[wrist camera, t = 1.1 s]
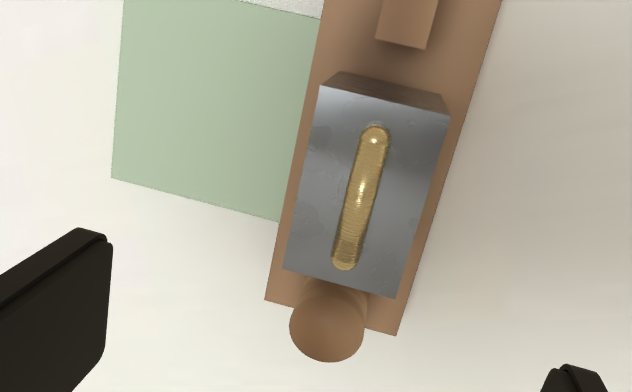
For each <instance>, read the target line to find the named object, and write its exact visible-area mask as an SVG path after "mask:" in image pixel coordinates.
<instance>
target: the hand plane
mask: <svg viewBox="0 0 632 392" xmlns="http://www.w3.org/2000/svg"><path fill="white" fill-rule="evenodd" d="M501 2H502V0H325V1H324V6H323V11H322V15H321V20H320V25H319V30H318V35H317V40H316V45H315V50H314V55H313V60H312V65H311V70H310V75H309V80H308V85H307V90H306V95H305V100H304V105H303V110H302V115H301V120H300V125H299V129H298V134H297V139H296V144H295V149H294V154H293V159H292V164H291V169H290V174H289V179H288V184H287V189H286V194H285V199H284V204H283V209H282V214H281V219H280V224H279V229H278V234H277V238H276V243H275V248H274V253H273V258H272V263H271V268H270V273H269V278H268V283H267V288H266V293H265V298H264V300H266V301H270V302H274V303H277V304H281V305H284V306H288V307H292V308H294V310H293V313H292V315H291V318H290V323H289V330H290V335H291V338H292V340H293V342H294V344H295V345H296V346H297V348H298V349H299V350H300V351H301V352H302V353H304V354H305V355H306V356H308V357H310V358H312V359H314V360H317V361H321V362H339V361H342V360H345V359H347V358H349V357H351V356H352V355H353V354H354V353H356V351H357V350H358V349H359V347H360V346H361V343H362V341H363V335H364V328H367V329H371V330H374V331H378V332H382V333H385V334H389V335H392V336H396V335H397V332H398V328H399V325H400V322H401V319H402V316H403V313H404V309H405V306H406V303H407V300H408V297H409V294H410V290H411V287H412V284H413V281H414V278H415V275H416V271H417V268H418V265H419V262H420V259H421V256H422V252H423V249H424V246H425V243H426V240H427V237H428V233H429V230H430V227H431V224H432V221H433V218H434V214H435V211H436V208H437V205H438V202H439V199H440V195H441V192H442V189H443V186H444V183H445V180H446V176H447V173H448V170H449V167H450V164H451V161H452V157H453V154H454V151H455V148H456V145H457V142H458V138H459V135H460V132H461V129H462V126H463V123H464V119H465V116H466V113H467V110H468V107H469V104H470V100H471V97H472V94H473V91H474V88H475V85H476V81H477V78H478V75H479V72H480V69H481V66H482V62H483V59H484V56H485V53H486V50H487V47H488V43H489V40H490V37H491V34H492V31H493V28H494V24H495V21H496V18H497V15H498V12H499V9H500V5H501ZM339 71H343V72H347V73H351V74H356V75H360V76H364V77H368V78H373V79H377V80H381V81H385V82H390V83H394V84H398V85H402V86H407V87H411V88H415V89H419V90H424V91H428V92H432V93H436V94H441V96H442V98H443V100H444V102H445V104H446V106H447V108H448V110H449V113H450V115H451V119H450V122H449V125H448V128H447V132H446V135H445V138H444V141H443V145H442V148H441V151H440V155H439V158H438V161H437V164H436V168H435V171H434V174H433V177H432V181H431V184H430V187H429V190H428V194H427V197H426V200H425V204H424V207H423V210H422V213H421V217H420V220H419V223H418V226H417V230H416V233H415V236H414V240H413V243H412V246H411V249H410V253H409V256H408V259H407V262H406V266H405V269H404V272H403V275H402V279H401V282H400V285H399V289H398V292H397V295H396V298H395V299H391V298H388V297H384V296H380V295H376V294H373V293H369V292H365V291H362V290H358V289H354V288H351V287H347V286H343V285H340V284H336V283H332V282H329V281H325V280H321V279H318V278H314V277H310V276H307V275H303V274H299V273H296V272H292V271H288V270H284V269H282V265H283V260H284V255H285V251H286V246H287V241H288V236H289V232H290V227H291V222H292V217H293V213H294V208H295V203H296V198H297V194H298V189H299V184H300V179H301V175H302V170H303V165H304V160H305V156H306V151H307V146H308V141H309V137H310V132H311V127H312V122H313V118H314V113H315V108H316V103H317V99H318V94H319V89H320V85H321V84H322V83H324V82H325V81H326V80H328V79H329V78H330V77H332V76H333V75H335V74H336V73H337V72H339Z"/></svg>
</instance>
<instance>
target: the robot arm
mask: <svg viewBox="0 0 632 392" xmlns="http://www.w3.org/2000/svg"><path fill="white" fill-rule="evenodd" d="M112 257H113V246H112V244H111V243H108V242H107V238H106V236H105V235H104V234H101V233H98V232H94V231H91V230H87V229H83V228H79V227H78V228H75V229H73V230H72V231H70V232H68V233H67V234H65V235H64V236H62V237H60V238H59V239H57V240H56V241H54V242H52V243H51V244H49V245H48V246H46V247H44V248H43V249H41V250H40V251H38V252H36V253H35V254H33V255H32V256H30V257H28V258H27V259H25V260H24V261H22V262H20V263H19V264H17V265H15V266H14V267H12V268H11V269H9V270H7V271H6V272H4V273H3V274H1V275H0V392H72V391H73V390H74V388H75V387H76V386H77V385H78V384H79V383H80V382H81V381H82V380H83V379H84V377H85V376H86V375H87V374H88V373H89V372H90V371H91V370H92V369H93V367H94V366H95V365H96V364H97V363H98V362H99V360H100V358H101V357H102V354H103V352H104V349H105V341H106V329H107V317H108V305H109V293H110V281H111V269H112ZM540 392H608V391H607V389H606V387H605V385H604V384H603V382H602V380H601V378H600V376H599V375H598V374H597V373H596V372H594V371H590V370H587V369H583V368H580V367H576V366H573V365H569V364H564V365H562V366H561V367H560V369H556V368H553V369H552V370H551V371H550V372H549V374H548V376H547V378H546V380H545V382H544V385H543V387H542V389H541V391H540Z"/></svg>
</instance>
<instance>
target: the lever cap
mask: <svg viewBox="0 0 632 392" xmlns="http://www.w3.org/2000/svg"><path fill="white" fill-rule="evenodd" d="M450 119H451V115H450V113H449V110H448V108H447V106H446V104H445V102H444V100H443V98H442V96H441V94H436V93H432V92H428V91H424V90H419V89H415V88H411V87H407V86H402V85H398V84H394V83H390V82H385V81H381V80H377V79H373V78H368V77H364V76H360V75H356V74H351V73H347V72H343V71H339V72H337V73H336V74H335V75H333V76H332V77H330V78H329V79H328V80H326V81H325V82H324V83H322V84H321V85H320V89H319V94H318V99H317V103H316V108H315V113H314V118H313V122H312V127H311V132H310V137H309V141H308V146H307V151H306V156H305V160H304V165H303V170H302V175H301V179H300V184H299V189H298V194H297V198H296V203H295V208H294V213H293V217H292V222H291V227H290V232H289V236H288V241H287V246H286V251H285V255H284V260H283V265H282V269H284V270H288V271H292V272H296V273H299V274H303V275H307V276H310V277H314V278H318V279H321V280H325V281H329V282H332V283H336V284H340V285H343V286H347V287H351V288H354V289H358V290H362V291H365V292H369V293H373V294H376V295H380V296H384V297H388V298H391V299H395V298H396V295H397V292H398V289H399V285H400V282H401V279H402V275H403V272H404V269H405V266H406V262H407V259H408V256H409V253H410V249H411V246H412V243H413V240H414V236H415V233H416V230H417V226H418V223H419V220H420V217H421V213H422V210H423V207H424V204H425V200H426V197H427V194H428V190H429V187H430V184H431V181H432V177H433V174H434V171H435V168H436V164H437V161H438V158H439V155H440V151H441V148H442V145H443V141H444V138H445V135H446V132H447V128H448V125H449V122H450Z"/></svg>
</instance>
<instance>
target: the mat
mask: <svg viewBox="0 0 632 392" xmlns="http://www.w3.org/2000/svg"><path fill="white" fill-rule="evenodd" d="M319 25H320V19H316V18H312V17H307V16H303V15H298V14H294V13H290V12H285V11H281V10H276V9H272V8H268V7H263V6H259V5H254V4H250V3H246V2H241V1H237V0H124V4H123V17H122V31H121V45H120V59H119V72H118V86H117V100H116V114H115V127H114V141H113V155H112V168H111V178H114V179H117V180H121V181H125V182H129V183H132V184H136V185H140V186H144V187H148V188H151V189H155V190H159V191H163V192H167V193H170V194H174V195H178V196H182V197H186V198H189V199H193V200H197V201H201V202H204V203H208V204H212V205H216V206H220V207H223V208H227V209H231V210H235V211H239V212H242V213H246V214H250V215H254V216H258V217H261V218H265V219H269V220H273V221H277V222H280V219H281V214H282V209H283V204H284V199H285V194H286V189H287V184H288V179H289V174H290V169H291V164H292V159H293V154H294V149H295V144H296V139H297V134H298V129H299V125H300V120H301V115H302V110H303V105H304V100H305V95H306V90H307V85H308V80H309V75H310V70H311V65H312V60H313V55H314V50H315V45H316V40H317V35H318V30H319Z"/></svg>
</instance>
